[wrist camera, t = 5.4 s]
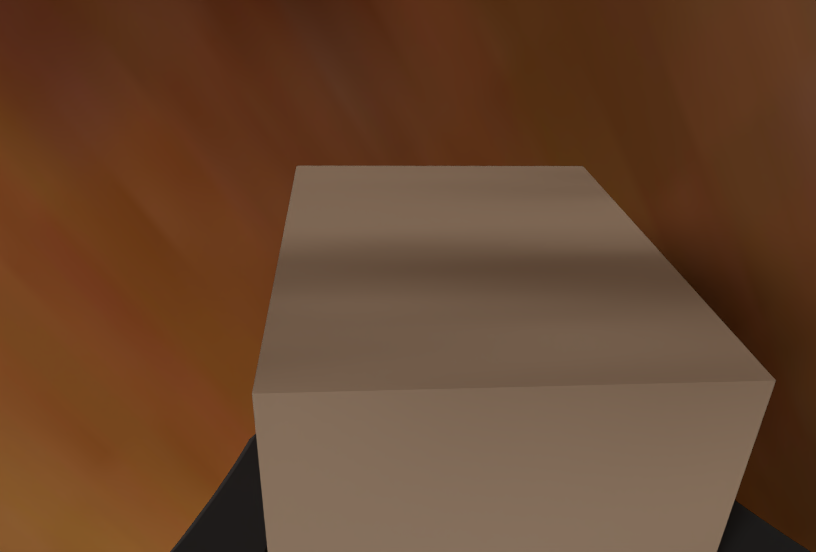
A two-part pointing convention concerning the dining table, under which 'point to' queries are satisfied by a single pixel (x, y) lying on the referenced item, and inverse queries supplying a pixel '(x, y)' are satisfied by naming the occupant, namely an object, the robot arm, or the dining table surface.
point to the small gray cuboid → (491, 372)
